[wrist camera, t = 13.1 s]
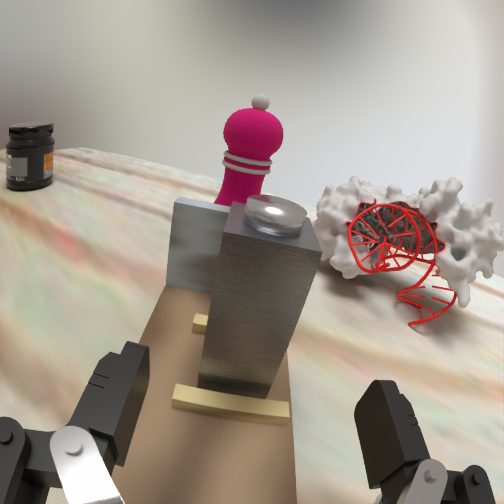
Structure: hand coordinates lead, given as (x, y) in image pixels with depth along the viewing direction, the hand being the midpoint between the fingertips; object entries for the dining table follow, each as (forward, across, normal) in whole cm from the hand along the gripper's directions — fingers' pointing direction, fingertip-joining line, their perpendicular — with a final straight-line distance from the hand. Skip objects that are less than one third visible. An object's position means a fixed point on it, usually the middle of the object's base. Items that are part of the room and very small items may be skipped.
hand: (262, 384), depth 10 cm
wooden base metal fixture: (+7, +2, +10) cm, 12 cm away
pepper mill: (+25, +2, +10) cm, 27 cm away
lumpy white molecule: (+26, -20, +10) cm, 34 cm away
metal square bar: (+8, 0, +8) cm, 11 cm away
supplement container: (+41, +44, +10) cm, 61 cm away
